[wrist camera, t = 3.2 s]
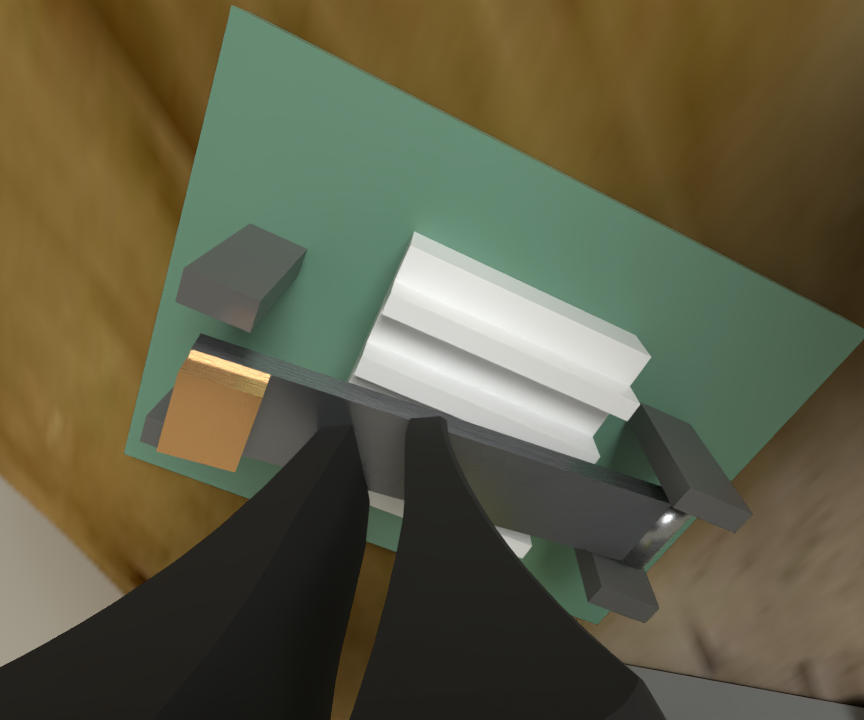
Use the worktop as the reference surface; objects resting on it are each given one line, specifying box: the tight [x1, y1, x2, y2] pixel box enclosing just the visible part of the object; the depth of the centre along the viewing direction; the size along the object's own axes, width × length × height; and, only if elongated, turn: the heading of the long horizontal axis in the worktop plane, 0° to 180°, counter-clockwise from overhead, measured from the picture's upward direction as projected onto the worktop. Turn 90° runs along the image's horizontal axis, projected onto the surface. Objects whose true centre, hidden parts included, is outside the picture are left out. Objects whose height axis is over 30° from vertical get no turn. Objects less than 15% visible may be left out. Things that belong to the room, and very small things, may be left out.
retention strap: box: [156, 333, 692, 569], centre depth 11 cm, size 11×2×1 cm, turn 65°
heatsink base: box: [124, 5, 864, 624], centre depth 13 cm, size 16×12×4 cm
